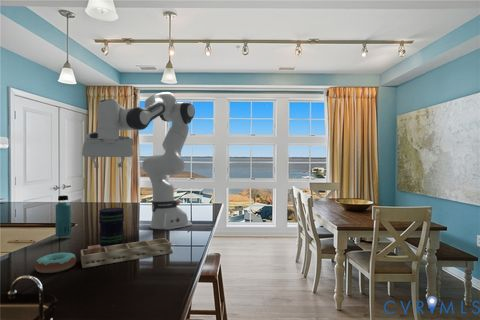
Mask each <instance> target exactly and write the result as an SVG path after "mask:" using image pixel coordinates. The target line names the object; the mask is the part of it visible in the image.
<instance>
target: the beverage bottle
mask: <svg viewBox="0 0 480 320" xmlns="http://www.w3.org/2000/svg"><path fill="white" fill-rule="evenodd" d="M68 196H69V195H58V196H57V201H61V202H58V203H56V205H55V236H56V238H57V237H58V238H62V237H63V238H64V237H69V236H71V235H72V205H71V203H70V202H65V201H68V200H69V197H68ZM63 201H64V202H63Z"/></svg>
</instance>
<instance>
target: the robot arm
mask: <svg viewBox="0 0 480 320" xmlns="http://www.w3.org/2000/svg"><path fill="white" fill-rule="evenodd" d="M118 102H119V101H118V100H117V99H114V98H109V99H101V100H99V101H98V103H97V108H96V109H97V111H96V121H97V127H96V131H95V132H94V131H92V132H89V133H87V134H86V135H85V139H86V140H85V141H83V144H82V151H81V154H82V156H83V158H91V162H92V163H93V165H94V166H93V167H94V169H95V168H96V169H97V168H99V163H97V162H96V161H95V160H96V158H101V157H102V158H120V160H121V161H120V162H119V163H117V168H122V167H123V163H124V161H125V158H132V157H133V155H134V149H133V146H134V140H133V138H132V137H130V136H121V135H120V131H132V130H136V131H142V130H145V129H147V128H148V127H149V125H150V123H151V122H152V121H153V120H155V119H157V118H158V117H159V118H160V119H161V120H162V121H163V122H166V123H167V122H171V126H170V128H169V130H168V131H167V133H166V135H165V137H164V139H163V141H162V143H161V145H162V148H163V150H164V153H163V154H161V155H160V154H159V155H157V154H156V155H151V156H147V157H145V158H144V160H142V170H143V171H144V172H145V173H146V175H147V176H148V177H149V180H150V183H151V186H152V187H151V188H152V201H151V212H152V214H151V221H150V226H149V227H150V229H154V230H174V229H179V228H184V227H185V228H186V227H190V226H191V227H192V226H193V222H192V221H190V220H189V218H188V215H187V213H186V212H185V211H183V210H182V209H181V208H180V207H179V205H180V204H181V203H180V202H181V201H179V200H175V198H174V196H175V194H174V187H175V186H174V185H173V184H172V183H171V182H170V181H169V180H168V176H177V175H180V174H182V173H183V171H184V169H185V161H184V159H183V157H182V156H181V154H182V153H181V152H182V150H183V148H184V145H185V143H186V140H187V137H188V134H189V130H190V129H189V125H190V123H191V122H192V120H193V119H194V116H195V113H196V111H195V107H194V105H193V103H191V102H188V101H176V97H175V96H174V94H173V93H172V92H169V91H163V92H158V93H154V94H152V95H151V96H149V97H147V98H146V99H145V101H144V107H143V106H136V107H134V108H124V107H123V106H122V105H121V104H120V103H118Z"/></svg>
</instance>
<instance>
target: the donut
mask: <svg viewBox="0 0 480 320" xmlns="http://www.w3.org/2000/svg"><path fill="white" fill-rule="evenodd" d="M76 262H77V257H76V255H75V253H72V252H56V253H50V254H46V255H44V256H41V257H39V258H38V259H37V260H36V262H35V263H34V269H35V270H36V272H38V273H42V274H54V273H60V272H64V271H67V270H69V269H71V268H73V267H74V266H75V265H76Z"/></svg>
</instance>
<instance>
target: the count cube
mask: <svg viewBox="0 0 480 320" xmlns="http://www.w3.org/2000/svg"><path fill="white" fill-rule="evenodd" d="M87 249H88V254H95V253H101V246H100V244H96V245H87Z"/></svg>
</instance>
